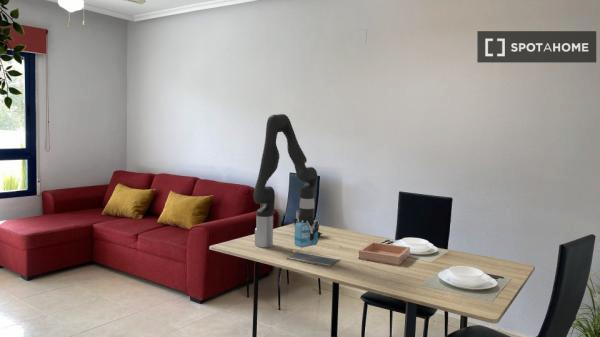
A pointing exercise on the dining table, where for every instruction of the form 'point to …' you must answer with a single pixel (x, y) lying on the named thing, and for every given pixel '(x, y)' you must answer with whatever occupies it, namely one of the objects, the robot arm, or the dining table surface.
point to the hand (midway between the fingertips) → (306, 239)
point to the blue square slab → (304, 235)
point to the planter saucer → (384, 253)
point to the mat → (313, 259)
